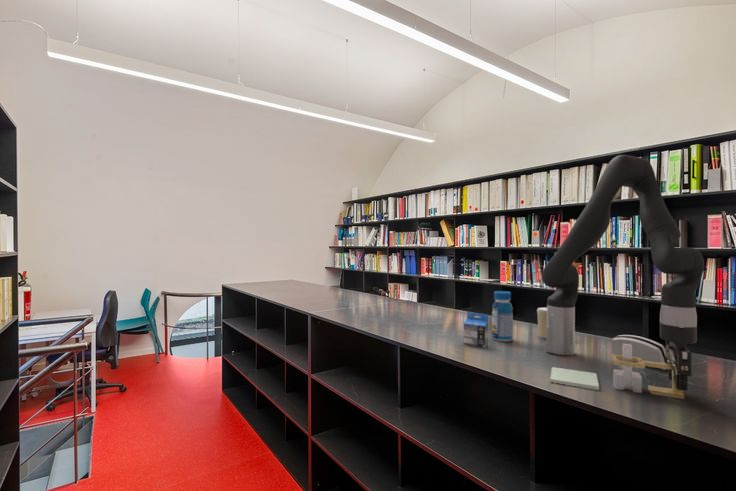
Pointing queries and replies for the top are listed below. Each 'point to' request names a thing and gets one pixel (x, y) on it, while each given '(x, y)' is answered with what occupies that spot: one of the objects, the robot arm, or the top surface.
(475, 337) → the label tape cartridge
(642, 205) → the robot arm
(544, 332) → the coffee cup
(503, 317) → the beverage bottle
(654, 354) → the white arched piece
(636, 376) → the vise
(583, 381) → the mat
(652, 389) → the square loop paddle
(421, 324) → the top surface
